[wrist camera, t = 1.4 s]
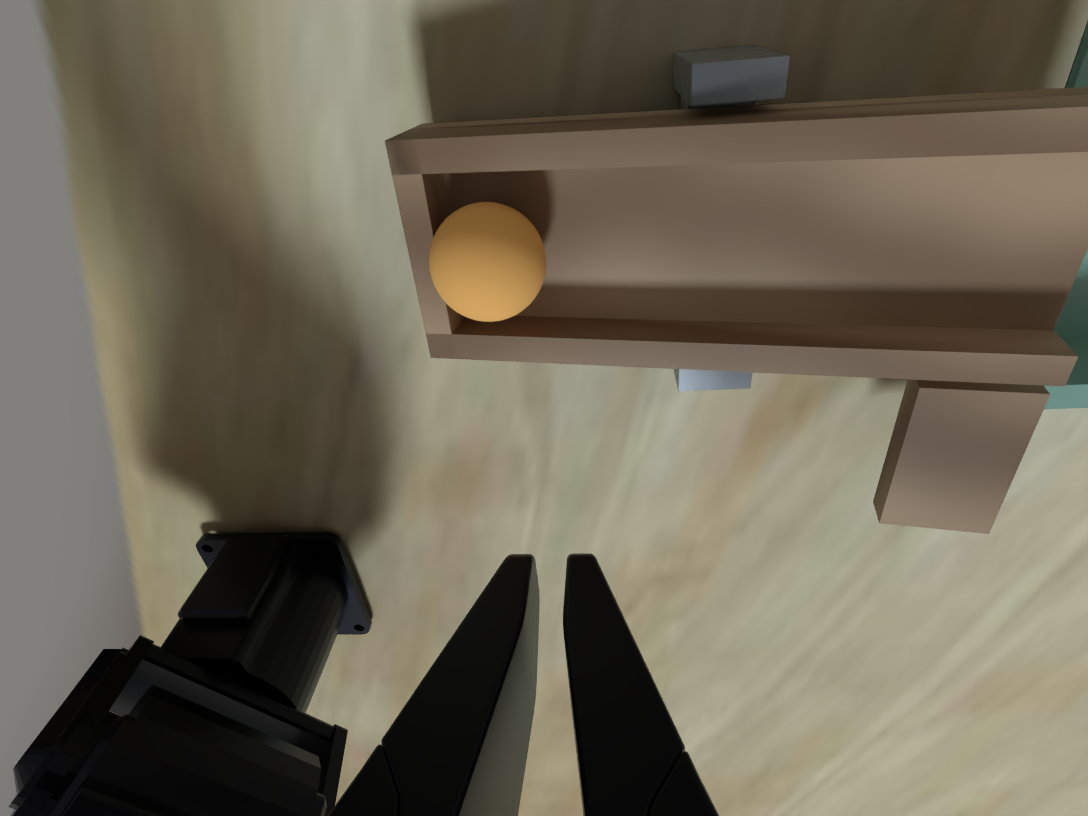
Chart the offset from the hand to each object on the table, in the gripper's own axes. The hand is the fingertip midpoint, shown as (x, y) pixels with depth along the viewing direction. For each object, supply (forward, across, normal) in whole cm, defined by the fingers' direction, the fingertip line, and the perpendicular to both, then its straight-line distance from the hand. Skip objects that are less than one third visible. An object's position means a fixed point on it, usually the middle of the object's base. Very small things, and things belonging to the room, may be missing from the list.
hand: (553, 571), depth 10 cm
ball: (+8, +2, -2) cm, 9 cm away
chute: (+10, -4, +1) cm, 11 cm away
